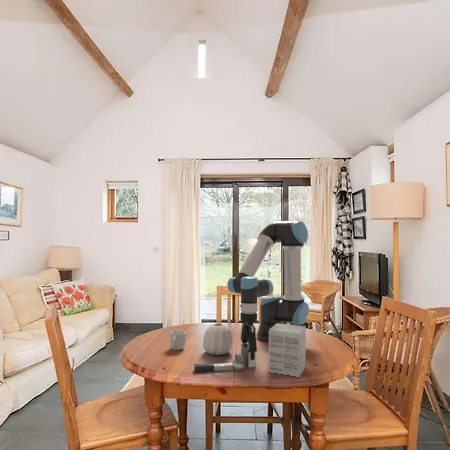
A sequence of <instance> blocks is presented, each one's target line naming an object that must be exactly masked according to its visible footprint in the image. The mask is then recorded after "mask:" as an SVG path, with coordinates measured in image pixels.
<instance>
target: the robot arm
mask: <svg viewBox="0 0 450 450" xmlns="http://www.w3.org/2000/svg"><path fill="white" fill-rule="evenodd" d="M256 239H257V241H256V243H255V244H254V246H253V248H252V250H251V251H250V252H249V254H248V256H247V258H246V260H245V261H244V263H243V264H242V266H241V268H240V269H239V272H238V273H237V274H236V276H232V277H230V278H228V280H227V283H226V284H227V285H226V287H227V289H228V291H229V292H230V293H234V294H240V304H239V305H238V306H239V307H240V312H239V313H240V315H239V317H240V318H239V319H240V322H241V324H242V325H241V331H240V333H241V334H240V340H241V344H249V350H248V352H249V359H248V365H247V366H248V368H256V357H255V352H256V353H257V352H258V348H257V347H258V346H257V340H259V341H261V342H265V343H269V329H270V328H272V327H273V326H274V325H275V324H276V323H278V324H282V322H283V323H286V324H287V323H288V324H291V325H303V324H304V323H305V322H306V321H307V319H308V317H309V313H310V311H309V309H310V306H309V304H308V303H307V302H305V297H304V296H303V295H302V257H301V256H302V252H301V251H302V249H303V248H304V245H305V243H307V241H308V239H309V232H308V228H307V226H306V224H305V223H304V222H303V221H302V220H281V221H280V220H276V221H273V222H271V223H268V225H266V227H264V228H263V229H262V230H261V232H259V235H258V236H257V238H256ZM277 243H281V245H280V246H281V247H282V249H283V253H284V254H283V255H284V256H283V257H284V294H283V295H282V296H281V295H271V294H272V293H273V291H274V285H273V282H272V281H271V280H270V279H265V278H264V279H259V278H258V277H255V275H256V273H257V272H258V269H259V268H260V266H261V265H262V262H263V261H264V259H265V257H266V255H267V254H268V252H269V250H270V249H271V248H273V247H274V246H275V244H277ZM269 295H270V296H269ZM260 297H261V299H260V303H258V298H260ZM258 304H259V308H260V309H259V312H260V313H259V314H260V316H259V327H258V329H257V331H256V327H255V326H254V323H257V322H258V313H257V312H258ZM252 348H254V349H252Z"/></svg>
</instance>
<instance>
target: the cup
mask: <svg viewBox="0 0 450 450" xmlns="http://www.w3.org/2000/svg"><path fill="white" fill-rule="evenodd" d="M169 337H170V339H169V340H170V348H171V349H172V350H173V351H181V350H183V349H185V345H186V338H187V332H186V331H185V330H181V329H180V330H177V329H176V330H171V331H170V332H169Z"/></svg>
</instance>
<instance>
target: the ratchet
mask: <svg viewBox="0 0 450 450" xmlns="http://www.w3.org/2000/svg"><path fill="white" fill-rule="evenodd" d="M234 359H235V360H234V361H232V362H231V363H229V362H228V363H227V362H226V363H214V362H207V363H206V362H203V363H193V371H194V373H207V372H208V373H209V372H222V371H223V372H224V371H225V372H227V371H235V372H236V371H237V372H242V371H245V365H244V362H243V361H242V355H241V352H240V353H235V358H234Z"/></svg>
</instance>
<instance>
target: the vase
mask: <svg viewBox="0 0 450 450" xmlns="http://www.w3.org/2000/svg"><path fill="white" fill-rule="evenodd" d="M202 341H203V342H202V346H203V347H202V348H203V349H204V351H205V352H206V353H207V354H208V355H212V356H224V355H227V354H228V353H229V352H230V351H231V350H232V349H233V336H232V332H231V330H230V329H229V328H228V326H227V325H225V324H223V323H213V324H211V325H210V326H208V327H207V328H206V330H205V332H204V335H203V340H202Z"/></svg>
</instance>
